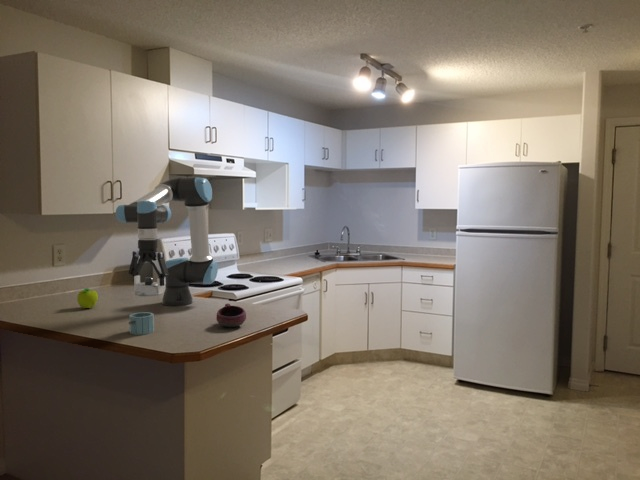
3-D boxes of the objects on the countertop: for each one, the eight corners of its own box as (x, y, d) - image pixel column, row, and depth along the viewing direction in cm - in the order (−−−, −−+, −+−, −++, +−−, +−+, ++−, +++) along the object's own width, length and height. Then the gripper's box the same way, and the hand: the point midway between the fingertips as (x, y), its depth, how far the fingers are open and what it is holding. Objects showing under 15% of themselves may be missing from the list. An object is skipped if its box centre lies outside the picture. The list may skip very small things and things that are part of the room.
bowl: (252, 326, 227) (252, 308, 227) (227, 332, 218) (227, 312, 218) (230, 320, 239) (229, 302, 238) (205, 325, 229) (205, 306, 229)
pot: (144, 326, 226) (143, 310, 225) (161, 329, 222) (161, 312, 222) (121, 334, 214) (121, 317, 213) (139, 336, 210) (139, 319, 210)
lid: (147, 290, 224) (146, 275, 224) (168, 292, 220) (168, 276, 220) (128, 295, 214) (128, 279, 214) (151, 297, 210) (150, 280, 210)
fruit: (75, 310, 256) (75, 290, 255) (80, 306, 265) (79, 286, 264) (96, 309, 258) (95, 289, 257) (99, 305, 267) (99, 286, 266)
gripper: (118, 238, 216) (119, 292, 218) (165, 240, 207) (166, 296, 209) (131, 237, 223) (132, 289, 225) (177, 239, 214) (178, 293, 216)
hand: (148, 292), depth 217 cm, fingers closed on lid, 11 cm apart
